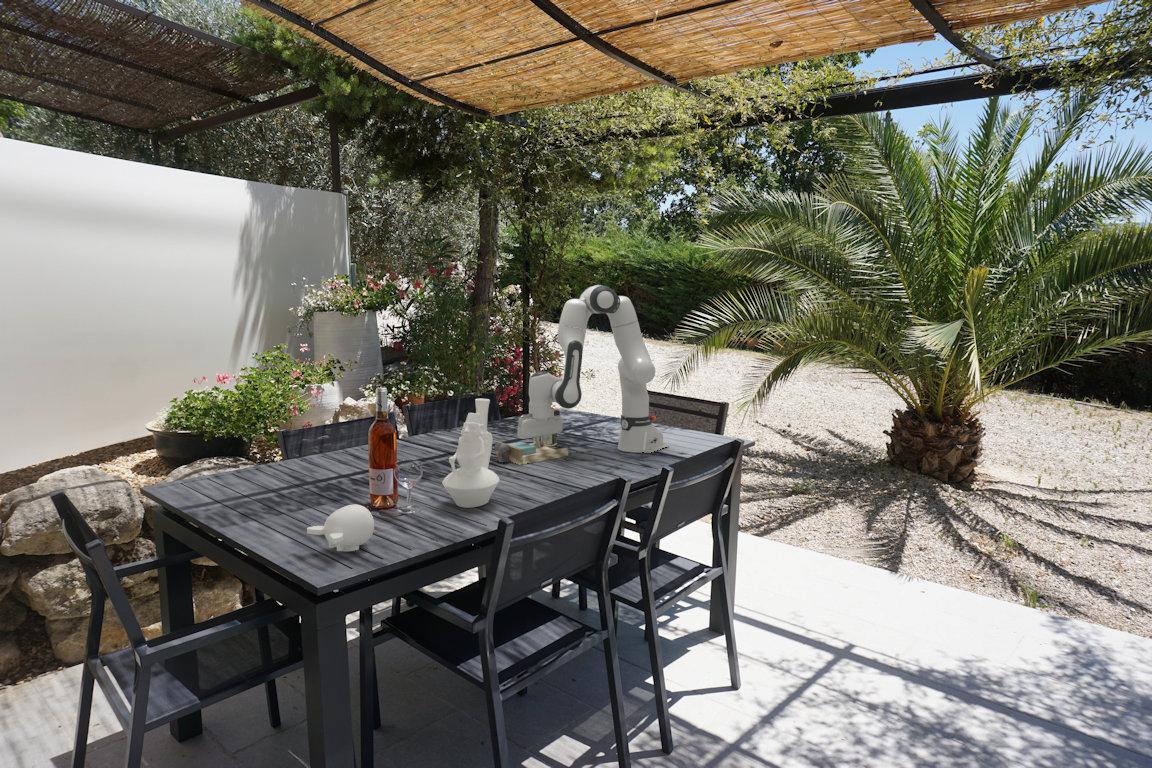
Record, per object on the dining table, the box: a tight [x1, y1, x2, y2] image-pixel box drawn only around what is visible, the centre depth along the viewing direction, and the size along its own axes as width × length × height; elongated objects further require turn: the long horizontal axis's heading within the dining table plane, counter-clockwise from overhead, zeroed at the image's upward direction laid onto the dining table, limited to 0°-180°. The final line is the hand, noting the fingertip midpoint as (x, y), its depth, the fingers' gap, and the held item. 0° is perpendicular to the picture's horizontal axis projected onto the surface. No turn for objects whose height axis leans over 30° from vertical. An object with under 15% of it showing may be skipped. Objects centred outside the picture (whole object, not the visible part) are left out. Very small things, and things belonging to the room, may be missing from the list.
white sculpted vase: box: [441, 397, 500, 509], centre depth 224 cm, size 18×22×32 cm
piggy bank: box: [306, 504, 375, 552], centre depth 186 cm, size 12×12×15 cm
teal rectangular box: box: [507, 441, 536, 456], centre depth 280 cm, size 8×10×4 cm
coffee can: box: [533, 433, 558, 448], centre depth 305 cm, size 10×10×14 cm
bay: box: [494, 441, 569, 466], centre depth 282 cm, size 29×16×7 cm, turn 129°
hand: (540, 446), depth 286 cm, fingers closed
